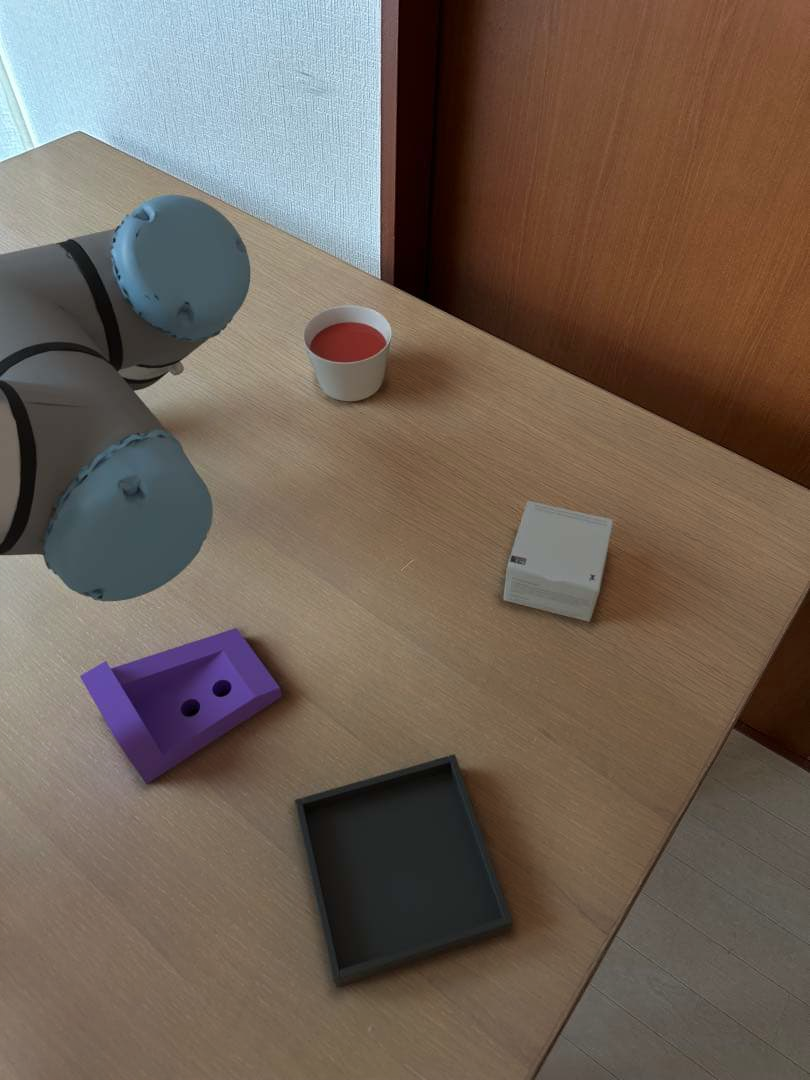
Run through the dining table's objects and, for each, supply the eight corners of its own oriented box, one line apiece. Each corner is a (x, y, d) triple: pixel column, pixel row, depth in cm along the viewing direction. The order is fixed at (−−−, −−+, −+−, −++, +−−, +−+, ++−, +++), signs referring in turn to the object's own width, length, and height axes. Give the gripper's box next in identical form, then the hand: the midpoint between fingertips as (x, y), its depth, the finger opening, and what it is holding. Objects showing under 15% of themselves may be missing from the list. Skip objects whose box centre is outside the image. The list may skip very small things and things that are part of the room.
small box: (605, 553, 75) (616, 518, 71) (589, 625, 70) (600, 591, 66) (520, 533, 76) (526, 497, 72) (500, 601, 72) (505, 567, 68)
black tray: (336, 987, 54) (333, 980, 52) (298, 811, 61) (294, 799, 59) (509, 931, 56) (512, 922, 54) (453, 767, 63) (454, 753, 61)
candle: (394, 352, 92) (393, 305, 87) (391, 410, 86) (390, 363, 81) (312, 352, 92) (306, 305, 87) (305, 409, 86) (298, 362, 81)
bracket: (146, 784, 62) (120, 747, 57) (107, 716, 66) (79, 676, 60) (282, 696, 67) (270, 654, 61) (239, 637, 70) (224, 592, 65)
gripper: (6, 470, 54) (-15, 496, 72) (295, 295, 64) (213, 356, 83) (-71, 370, 52) (-73, 423, 70) (240, 206, 62) (168, 289, 81)
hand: (82, 387), depth 76 cm, fingers open, 13 cm apart
